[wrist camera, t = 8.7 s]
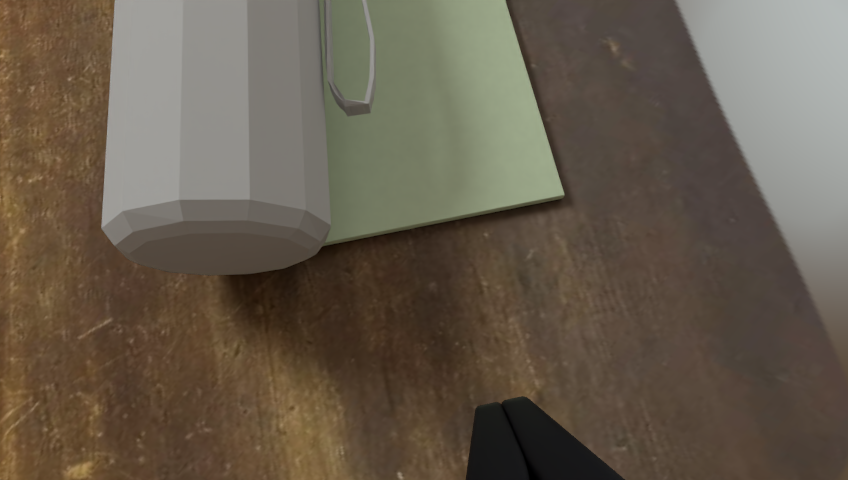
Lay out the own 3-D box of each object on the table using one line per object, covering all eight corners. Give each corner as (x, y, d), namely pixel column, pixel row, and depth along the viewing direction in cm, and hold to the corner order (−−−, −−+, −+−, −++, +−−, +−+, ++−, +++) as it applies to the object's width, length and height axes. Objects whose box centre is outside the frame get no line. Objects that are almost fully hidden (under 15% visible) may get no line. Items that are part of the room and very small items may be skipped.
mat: (562, 198, 23) (564, 195, 23) (271, 256, 22) (268, 254, 22) (454, -157, 29) (455, -165, 28) (221, -120, 28) (218, -128, 28)
